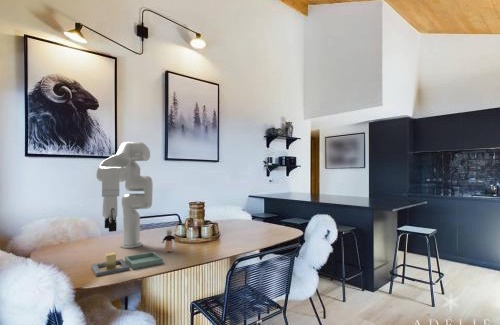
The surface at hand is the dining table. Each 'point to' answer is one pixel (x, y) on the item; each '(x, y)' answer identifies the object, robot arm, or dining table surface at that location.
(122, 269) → the collar block
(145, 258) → the tray
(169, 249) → the grandmother figurine
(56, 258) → the dining table surface
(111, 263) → the brass peg
